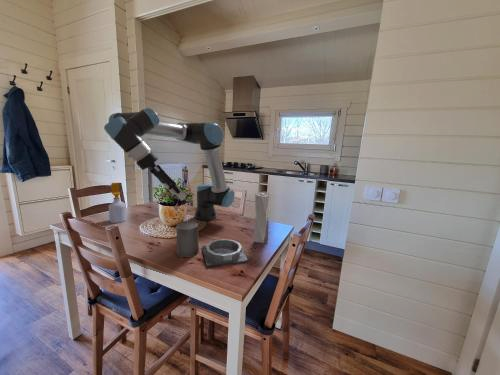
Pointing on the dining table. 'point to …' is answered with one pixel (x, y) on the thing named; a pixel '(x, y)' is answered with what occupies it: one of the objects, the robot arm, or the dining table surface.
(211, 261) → the duct collar
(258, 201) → the skyscraper
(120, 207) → the soap bottle
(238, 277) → the dining table surface
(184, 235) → the pillar candle
